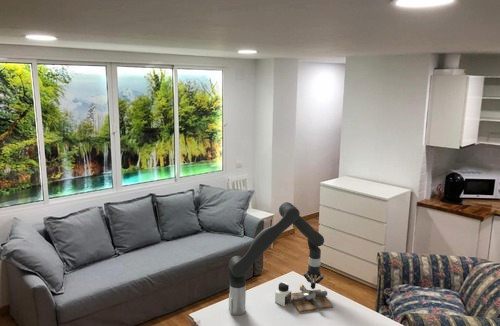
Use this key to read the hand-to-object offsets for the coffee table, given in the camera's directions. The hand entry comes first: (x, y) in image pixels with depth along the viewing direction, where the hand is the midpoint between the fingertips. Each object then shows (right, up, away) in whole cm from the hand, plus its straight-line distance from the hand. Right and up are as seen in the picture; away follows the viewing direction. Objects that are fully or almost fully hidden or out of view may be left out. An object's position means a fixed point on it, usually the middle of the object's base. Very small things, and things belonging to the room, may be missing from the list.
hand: (313, 288), depth 244 cm
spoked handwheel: (-3, -3, -10) cm, 11 cm away
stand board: (-3, -5, -9) cm, 11 cm away
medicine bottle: (-20, -5, -10) cm, 23 cm away
